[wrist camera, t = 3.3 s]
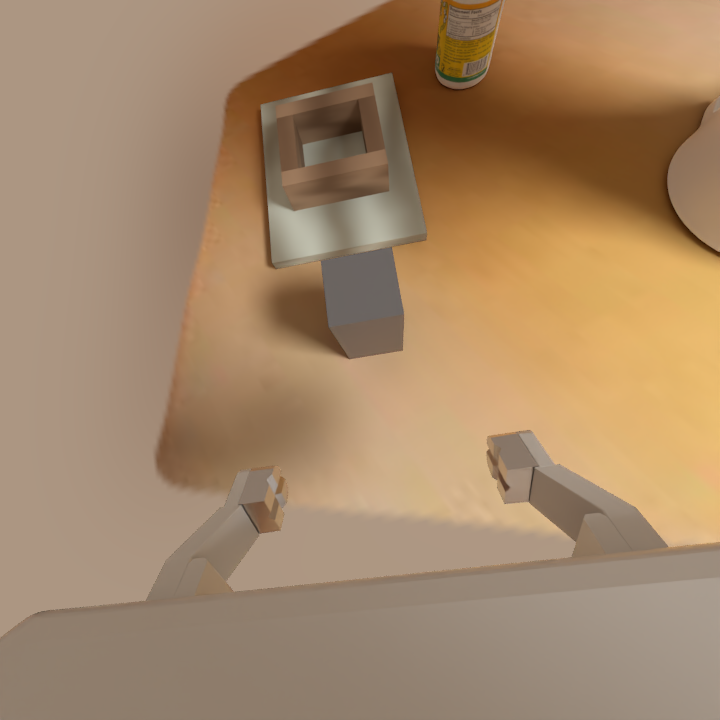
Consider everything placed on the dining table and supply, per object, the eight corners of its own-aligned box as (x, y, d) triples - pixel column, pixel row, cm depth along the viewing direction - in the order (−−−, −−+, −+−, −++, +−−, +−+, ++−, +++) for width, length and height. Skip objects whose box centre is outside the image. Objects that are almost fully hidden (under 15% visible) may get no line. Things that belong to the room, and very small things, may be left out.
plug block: (394, 301, 27) (391, 247, 19) (402, 350, 26) (403, 314, 18) (343, 310, 27) (320, 260, 20) (349, 359, 26) (328, 327, 18)
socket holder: (392, 83, 33) (391, 36, 29) (426, 239, 28) (430, 208, 24) (264, 114, 34) (247, 72, 30) (276, 268, 29) (257, 243, 25)
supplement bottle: (474, 97, 31) (506, -48, 22) (425, 83, 32) (435, -59, 23) (496, 57, 32) (536, -99, 22) (447, 46, 33) (466, -106, 24)
